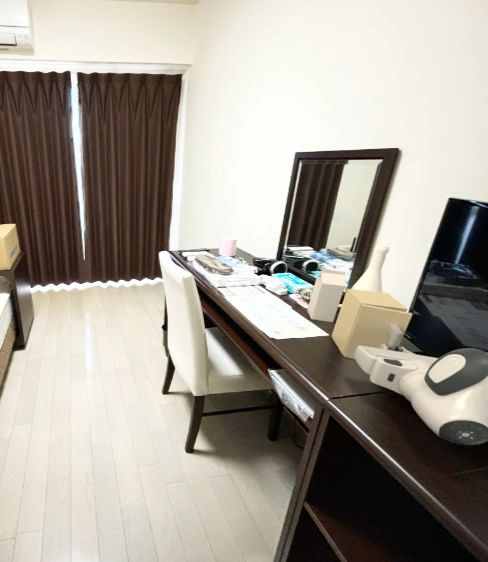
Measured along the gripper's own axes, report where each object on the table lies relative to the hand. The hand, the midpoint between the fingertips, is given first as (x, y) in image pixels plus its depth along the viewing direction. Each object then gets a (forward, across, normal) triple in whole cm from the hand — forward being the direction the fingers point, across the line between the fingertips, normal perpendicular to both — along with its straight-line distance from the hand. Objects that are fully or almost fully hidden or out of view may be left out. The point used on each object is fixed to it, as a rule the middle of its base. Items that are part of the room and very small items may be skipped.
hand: (391, 347), depth 83 cm
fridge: (+13, +2, +9) cm, 16 cm away
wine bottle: (+31, -4, +9) cm, 32 cm away
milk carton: (+32, +7, +9) cm, 35 cm away
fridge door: (+3, +2, +9) cm, 10 cm away
